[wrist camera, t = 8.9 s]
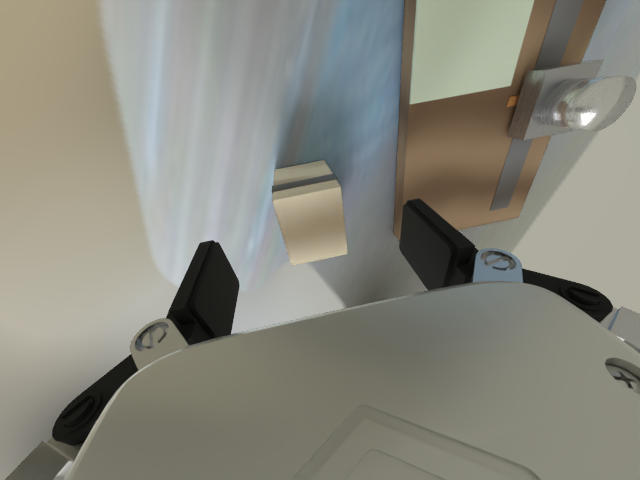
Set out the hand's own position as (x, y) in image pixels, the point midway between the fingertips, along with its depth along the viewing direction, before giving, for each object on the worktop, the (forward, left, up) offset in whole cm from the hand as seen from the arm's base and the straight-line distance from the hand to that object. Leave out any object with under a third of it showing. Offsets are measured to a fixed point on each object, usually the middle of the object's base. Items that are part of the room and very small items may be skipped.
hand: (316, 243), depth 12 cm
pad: (+8, -12, -7) cm, 16 cm away
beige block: (-1, 0, -9) cm, 9 cm away
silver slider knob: (+3, -18, -7) cm, 19 cm away
